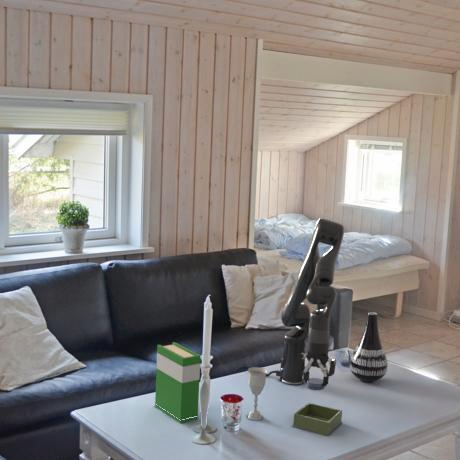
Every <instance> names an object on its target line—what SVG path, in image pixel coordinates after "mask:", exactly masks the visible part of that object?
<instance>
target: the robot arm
mask: <svg viewBox="0 0 460 460" xmlns="http://www.w3.org/2000/svg"><path fill="white" fill-rule="evenodd" d="M344 236H345V227H344V224H342V223H340V222H336V221H333V220H331V219H328V218H327V219H326V218H319V219H318V220H317V221H316V224H315V227H314V229H313V232H312V235H311V239H310V241H309V245H308V249H307V251H306V254H305V256H304V259H303V261H302V264H301V265H300V269H299V270H298V273H297V277H296V279H295V282H294V283H293V287H292V289H291V291H290V293H289V296H288V298H287V299H286V301H285V303H284V305H283V308H282V310H281V313H280V317H281V319H280V320H281V323H282V324H283V325H284V326H285V327H289V328H292V329H290V330H289V331H287V332H286V333H285V334H284V336H283V351H282V352H283V353H282V358H281V359H280V368H278V369H277V370H271V371H269V373H268V372H267V373H266V377H270V376H271V375H272V374H275V376H276V377H279V381H280V382H282V383H284V384H286V385H291V386H292V385H293V386H297V385H298V386H299V385H302V384H303V383H306V384H307V379H309V378H310V370H311V368H312V367H313V368H318V369H320V371H321V372H322V374H323V378H322V380H323V386H324V388H325V387H326V386H327V385H329V380H330V379H329V378H330V377H332V376H333V375H335V371H336V366H337V359H336V358H330V357H329V349H330V348H329V347H330V323H331V314H332V311H333V308H334V305H335V302H336V300H337V297H338V296H337V295H338V293H337V290H336V288H335V287H334V286H332V284H333V283H334V278H335V271H336V264H337V261H338V258H339V255H340V251H341V247H342V242H343V239H344ZM320 243H321V244H324V245H327V246H331V248H330V249H329V250H328V251H327V252H326V253H324V254H323V255H322V256H321V255H320V249H319V244H320ZM305 300H307V302H308V303H309V304H310V305H315V306H316V305H317V306H324V308H323V309H317V310H312V311H311V310H310V307H309V305H308V304H306V303H304V301H305ZM306 351H307V353H306ZM306 360H307V361H308V362H307V364H306ZM327 363H328V365H329V369H328V365H327ZM249 368H251V367H250V366H245V365H244V366H239V367H236V368H235V372H236V371H239V370H243V369H245V370H248V369H249Z"/></svg>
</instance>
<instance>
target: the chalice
mask: <svg viewBox="0 0 460 460" xmlns="http://www.w3.org/2000/svg"><path fill="white" fill-rule="evenodd" d="M247 372H248V381H247V383H248V387H249V389H250V391H251V394H252V395H254V397H253V409H252V410H251V411H250V412H249V414H248V416H247V418H248V419H249V420H253V421H259V420H262V418H263V417H262V414H261V412H260V410H258V406H259V404H258V401H259V398H258V396H259V395H261V393H262V392H263V390H264V388H265V385H266V380H267V379H266V378H267V376H266V374H268V369H266V368H264V367H259V366H258V367H257V366H255V367H253V366H252V367H250V368H249V369H247Z"/></svg>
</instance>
